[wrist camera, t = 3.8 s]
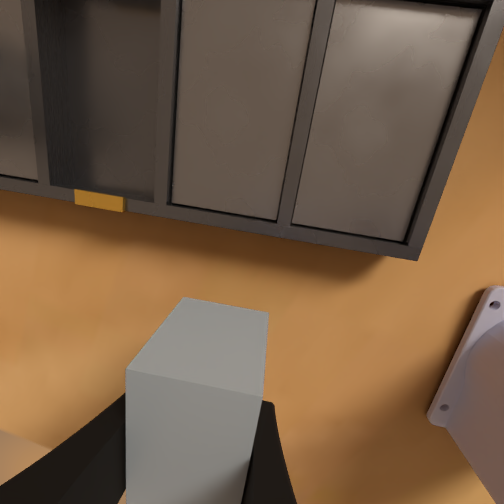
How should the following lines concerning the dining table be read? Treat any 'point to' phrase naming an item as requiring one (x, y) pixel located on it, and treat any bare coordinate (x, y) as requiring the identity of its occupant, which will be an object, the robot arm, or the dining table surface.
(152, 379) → the grey rectangular block
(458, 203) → the dining table surface
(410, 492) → the dining table surface
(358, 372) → the dining table surface
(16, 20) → the rack
